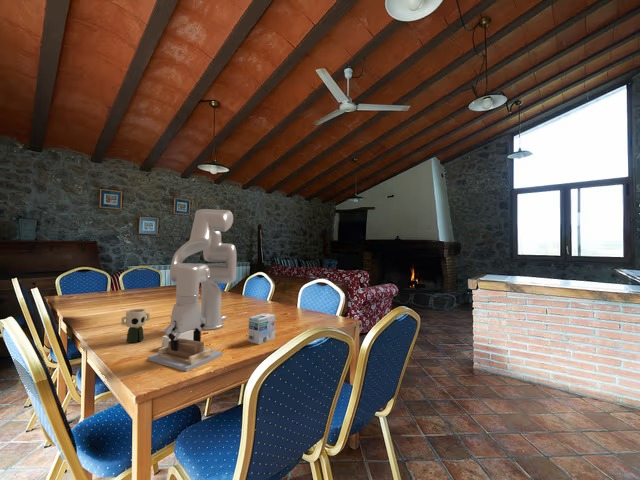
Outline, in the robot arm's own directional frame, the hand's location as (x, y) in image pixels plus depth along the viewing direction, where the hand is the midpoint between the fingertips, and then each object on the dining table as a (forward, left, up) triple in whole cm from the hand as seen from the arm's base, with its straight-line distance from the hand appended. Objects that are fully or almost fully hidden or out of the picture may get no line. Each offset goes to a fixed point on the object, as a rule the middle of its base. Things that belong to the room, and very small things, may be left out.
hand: (186, 346), depth 107 cm
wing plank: (-9, -15, -5) cm, 18 cm away
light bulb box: (-31, +11, -5) cm, 33 cm away
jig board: (-1, -1, -5) cm, 5 cm away
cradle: (0, 0, -3) cm, 3 cm away
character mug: (-3, -34, -5) cm, 34 cm away
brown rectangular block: (0, 0, -3) cm, 3 cm away
